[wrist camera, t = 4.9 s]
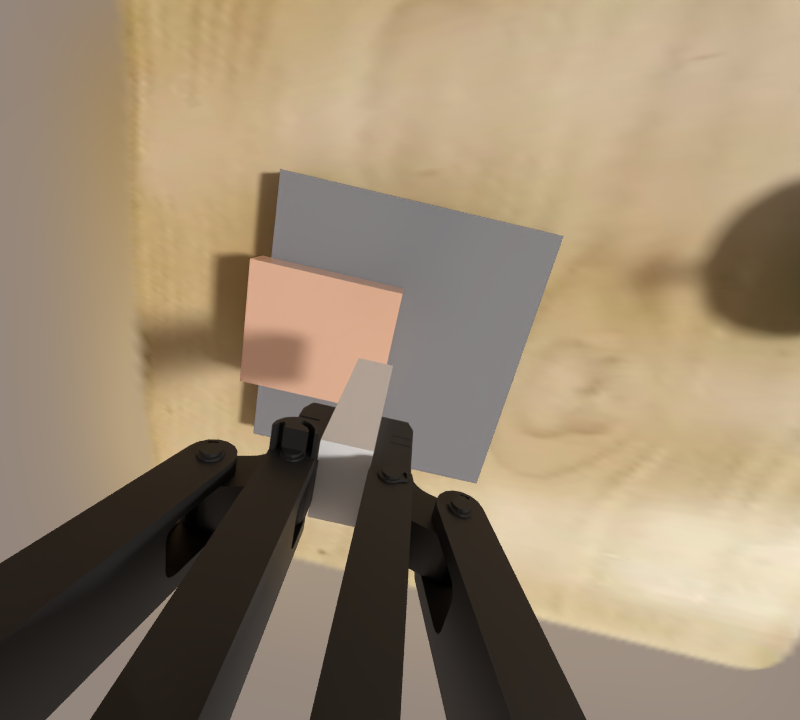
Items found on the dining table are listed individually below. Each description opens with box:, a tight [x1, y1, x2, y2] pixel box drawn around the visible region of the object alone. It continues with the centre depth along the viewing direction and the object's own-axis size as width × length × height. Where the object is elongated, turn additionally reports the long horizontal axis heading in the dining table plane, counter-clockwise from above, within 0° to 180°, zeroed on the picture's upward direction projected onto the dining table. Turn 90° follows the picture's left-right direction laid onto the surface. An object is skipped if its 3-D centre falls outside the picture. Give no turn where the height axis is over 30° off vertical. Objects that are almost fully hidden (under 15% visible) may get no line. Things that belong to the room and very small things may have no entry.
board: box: [254, 169, 563, 483], centre depth 24 cm, size 16×15×2 cm
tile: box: [240, 255, 404, 403], centre depth 23 cm, size 7×2×8 cm
